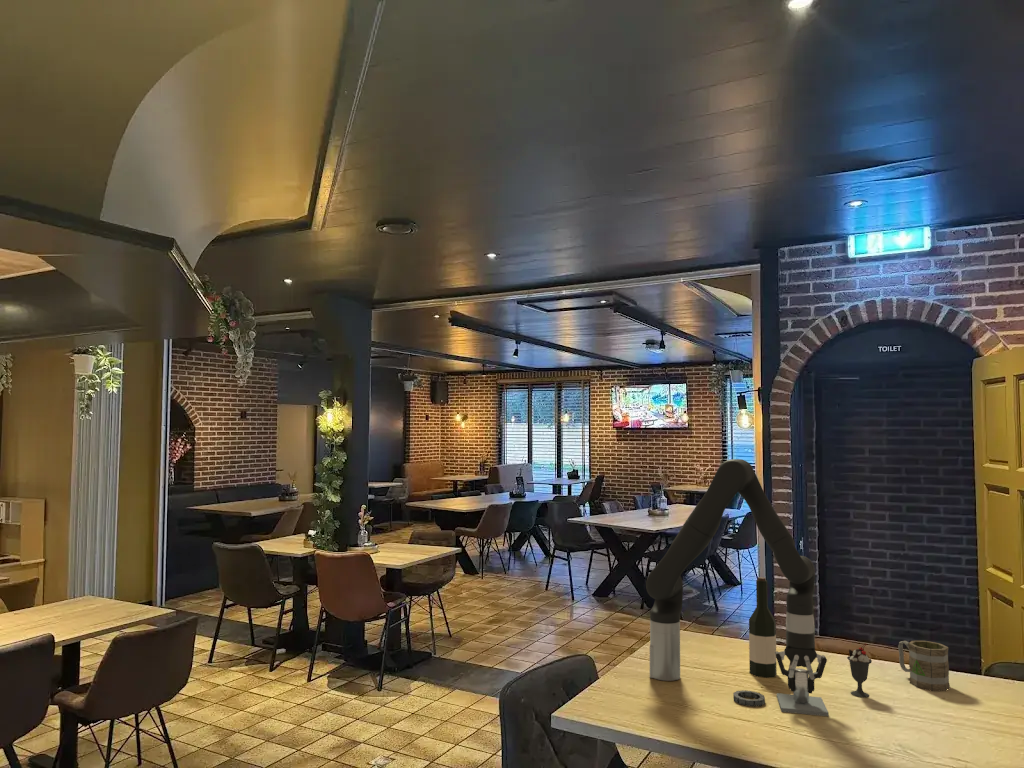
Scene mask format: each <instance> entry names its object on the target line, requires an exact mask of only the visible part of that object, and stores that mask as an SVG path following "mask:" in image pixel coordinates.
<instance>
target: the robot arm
mask: <svg viewBox="0 0 1024 768" xmlns="http://www.w3.org/2000/svg"><path fill="white" fill-rule="evenodd" d="M737 494H739V495H740V496H741V497H742V498H743V499H744V501H745V503H746V504H747V506H748V507H749V510H750V512H751V514H752V516H753V519H754V522H755V525H756V527H757V530H758V531H759V533H760V534H761V536H762V538H763V539H764V541H765V543H766V544H767V545H768V547H769V549H770V550H771V551H772V553H773V555H774V558H775V561H776V562H777V564H778V567H779V570H780V571H781V573H782V574H783V575H784V577H785V578H786V580H788V581H789V589H788V591H787V594H786V602H785V603H786V604H785V605H786V615H785V648H784V649H783V651H778V650H776V652H775V655H776V662H777V663H778V667H779V670H780V672H781V674H782V676H785V677H787V687H788V689H789V691H791V692H794V678H793V675H794V671H795V669H796V668H797V667H799V668H800V667H803V668H806V670H807V671H808V675H809V694H813V692H815V680H817V679H821V678H822V676H823V673H824V670H825V667H826V664H827V662H828V659H827V657H826V656H825V655H824V654H819V653H818V652H817V651H816V642H815V641H816V637H815V636H816V635H815V631H816V630H815V618H814V600H813V599H814V597H813V596H814V589H815V579H816V571H815V566H814V563H813V562H812V560H811V558H809V557H806V556H805V555H800V553H799V551H798V549H797V547H796V542H795V539H794V538H793V536H792V534H791V533H790V531H789V529H788V528H787V527H786V525H785V524H784V522H783V521H782V519H781V517H780V516H779V514H778V513H777V512H776V510H775V508H774V507H773V505H772V503H771V502H770V500H769V497H768V496H767V495H766V493H765V491H764V489H763V487H762V485H761V483H760V480H759V478H758V476H757V474H756V472H755V470H754V468H753V465H751V464H750V463H749V462H748V461H747V460H745V459H739V458H735V459H727V460H725V461H724V462H722V463H721V464H720V465H719V467H718V469H717V471H716V472H715V474H714V476H713V478H712V480H711V482H710V484H709V486H708V488H707V490H706V492H705V493H704V495H703V496H702V498H701V499H700V500H699V501H698V503H697V504H696V506H695V507H694V508H693V510H692V511H691V513H690V514H689V516H688V517H687V518H686V520H685V522H684V523H683V525H682V527H681V528H680V530H679V532H678V533H677V535H676V536H675V537H674V539H673V541H672V542H671V544H670V547H669V548H668V549H667V552H666V553H665V554H664V556H663V557H662V558H661V560H660V561H659V562H658V563H657V564H656V566H655V567H654V568H653V569H652V570H651V572H650V573H649V574H648V576H647V578H646V581H645V586H646V589H645V590H646V592H647V594H648V595H649V596H650V598H652V599H654V603H653V606H652V607H651V609H650V611H649V614H650V615H649V637H650V638H649V641H650V642H649V678H651V679H655V680H657V681H658V680H659V681H664V682H665V681H667V682H672V681H677V680H680V679H681V615H682V614H681V613H682V611H683V595H684V587H683V585H684V584H683V579H682V576H681V575H682V573H683V572H684V571H685V570H686V568H687V567H688V566H689V565H690V564H691V563H692V562H693V561H694V560H696V558H697V557H699V556H700V555H701V554H702V553H703V551H704V550H705V549H706V548H707V547H708V545H709V544H710V542H711V541H712V540H713V538H714V537H715V535H716V533H717V531H718V529H719V528H720V527H719V526H720V525H721V521H722V518H723V514H724V512H725V510H726V508H727V507H728V505H729V504H730V502H731V501H732V500H733V498H734V497H735V496H736V495H737ZM785 657H786V658H787V659H788V660H789V665H788V670H787V669H785V666H784V662H783V660H785ZM815 660H816V661H817V663H818V665H817V667H816V670H815V672H814V671H813V668H812V664H813V662H814V661H815Z"/></svg>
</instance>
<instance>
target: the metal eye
mask: <svg viewBox="0 0 1024 768" xmlns="http://www.w3.org/2000/svg"><path fill="white" fill-rule="evenodd" d="M732 694H733V702H735V703H737V704H738V705H741V706H742V705H743V706H745V707H755V708H756V707H763V706H764V705H766V698H765V695H763V694H762V693H760V692H757V691H752V690H744V689H743V690H736V691H734V692H733V693H732ZM750 698H751V699H750Z"/></svg>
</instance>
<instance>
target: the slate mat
mask: <svg viewBox="0 0 1024 768" xmlns="http://www.w3.org/2000/svg"><path fill="white" fill-rule="evenodd" d="M776 698H777V702H778V703H777V704H778V706H779V709H780V711H781V713H791V714H803V715H810V716H811V715H812V716H820V717H829V710H828V708H827V706H826V704H825V702H824V701H823V698H822V697H821V696H810V695H809V702H807V703H802V702H797V701H795V700H794V694H792V693H791V694H790V693H780V692H779V693H778V692H776Z"/></svg>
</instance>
